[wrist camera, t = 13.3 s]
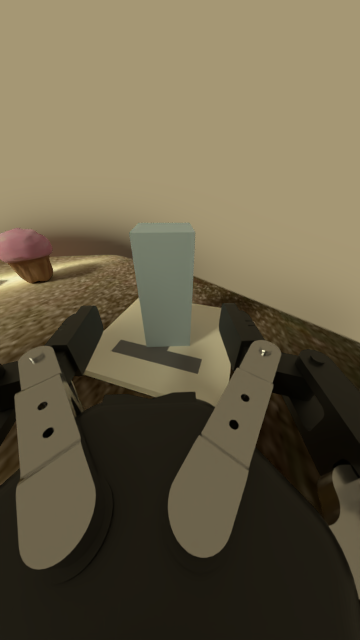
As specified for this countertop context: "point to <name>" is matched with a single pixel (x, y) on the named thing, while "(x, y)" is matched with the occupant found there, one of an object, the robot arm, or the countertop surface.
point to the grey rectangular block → (164, 280)
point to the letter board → (163, 357)
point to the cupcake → (27, 254)
